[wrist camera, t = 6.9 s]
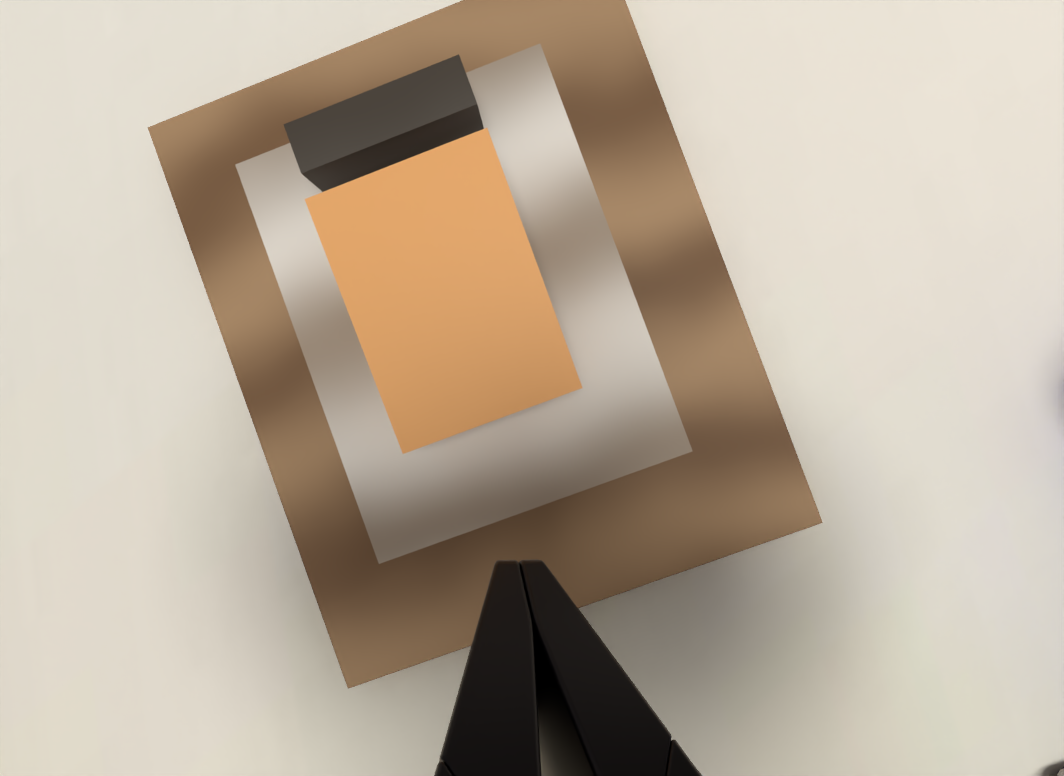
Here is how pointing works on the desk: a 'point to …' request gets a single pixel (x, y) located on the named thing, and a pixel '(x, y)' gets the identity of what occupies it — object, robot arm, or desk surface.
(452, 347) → the orange wedge plank
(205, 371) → the desk surface
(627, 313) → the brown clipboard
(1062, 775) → the electrical switch
